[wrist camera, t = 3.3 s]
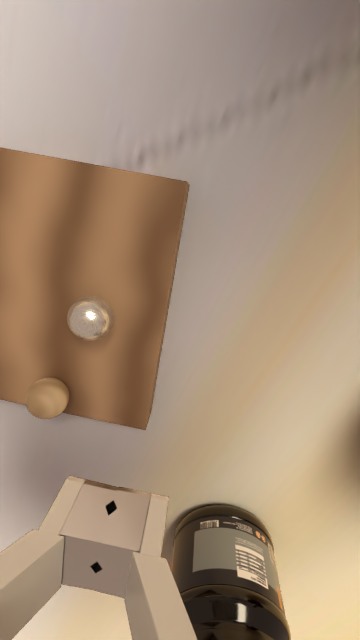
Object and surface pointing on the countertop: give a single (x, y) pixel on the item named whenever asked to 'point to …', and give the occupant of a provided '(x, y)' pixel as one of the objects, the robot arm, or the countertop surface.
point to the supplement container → (228, 576)
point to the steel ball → (90, 318)
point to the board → (85, 280)
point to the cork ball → (47, 398)
